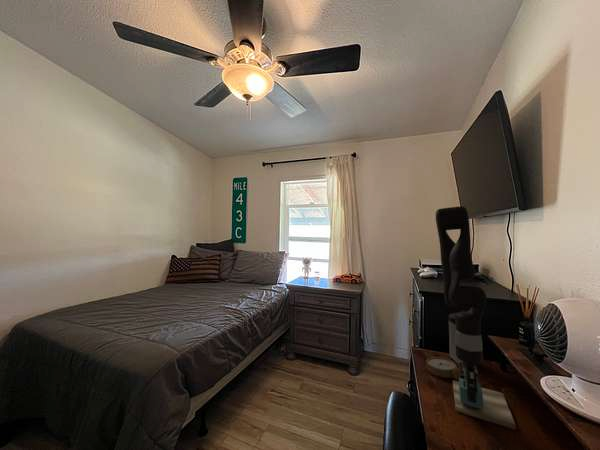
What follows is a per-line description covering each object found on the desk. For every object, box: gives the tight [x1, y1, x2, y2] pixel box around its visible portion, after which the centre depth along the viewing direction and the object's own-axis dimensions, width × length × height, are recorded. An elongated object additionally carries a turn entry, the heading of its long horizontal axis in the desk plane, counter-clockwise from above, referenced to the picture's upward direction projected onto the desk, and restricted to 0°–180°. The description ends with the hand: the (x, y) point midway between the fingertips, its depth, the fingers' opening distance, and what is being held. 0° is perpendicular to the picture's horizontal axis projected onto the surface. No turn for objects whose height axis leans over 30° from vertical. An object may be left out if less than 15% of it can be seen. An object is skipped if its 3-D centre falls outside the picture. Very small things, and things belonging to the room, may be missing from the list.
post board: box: [452, 379, 517, 430], centre depth 81 cm, size 16×15×8 cm
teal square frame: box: [458, 377, 483, 409], centre depth 79 cm, size 6×6×5 cm
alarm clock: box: [424, 356, 464, 381], centre depth 99 cm, size 11×5×15 cm
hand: (470, 394), depth 79 cm, fingers open, 8 cm apart
